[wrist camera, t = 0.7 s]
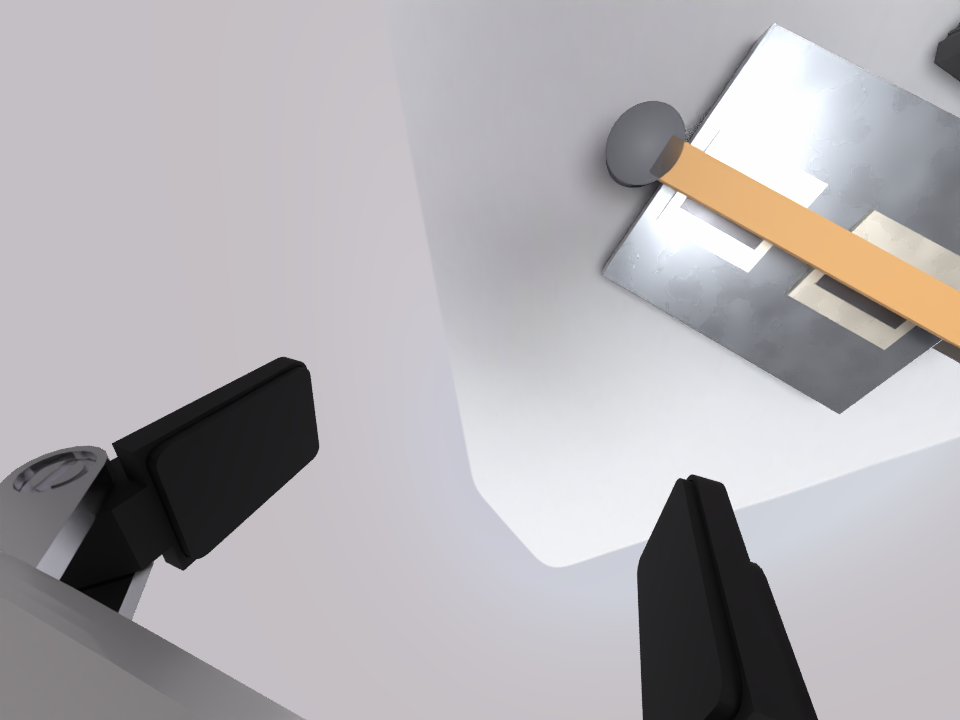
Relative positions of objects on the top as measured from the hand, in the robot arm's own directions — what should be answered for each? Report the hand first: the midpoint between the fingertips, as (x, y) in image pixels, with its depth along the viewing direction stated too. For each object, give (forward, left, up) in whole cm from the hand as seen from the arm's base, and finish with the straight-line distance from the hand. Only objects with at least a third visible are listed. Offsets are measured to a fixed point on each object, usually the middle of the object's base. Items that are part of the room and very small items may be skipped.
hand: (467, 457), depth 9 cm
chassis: (-9, +12, -26) cm, 30 cm away
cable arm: (-9, +10, -22) cm, 26 cm away
